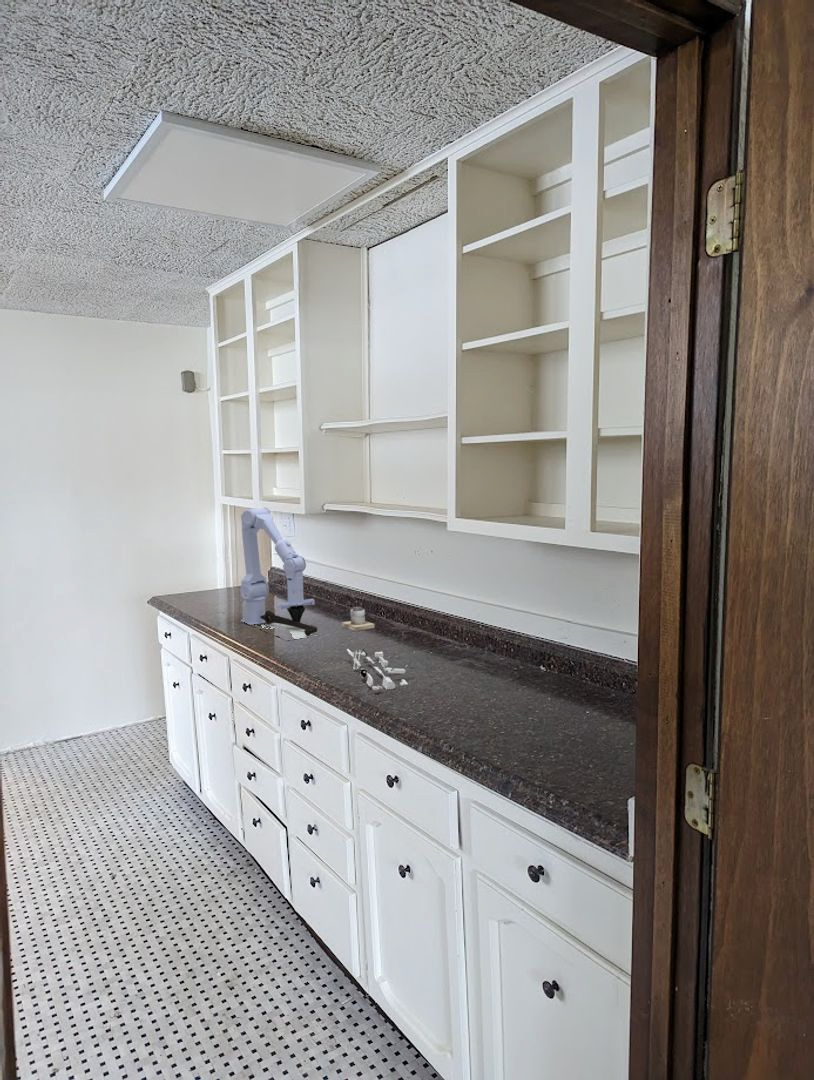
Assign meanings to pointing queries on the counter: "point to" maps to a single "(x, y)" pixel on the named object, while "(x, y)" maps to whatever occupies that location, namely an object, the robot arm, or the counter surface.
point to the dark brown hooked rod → (287, 622)
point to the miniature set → (386, 680)
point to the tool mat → (291, 630)
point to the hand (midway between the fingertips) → (296, 626)
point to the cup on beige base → (358, 620)
